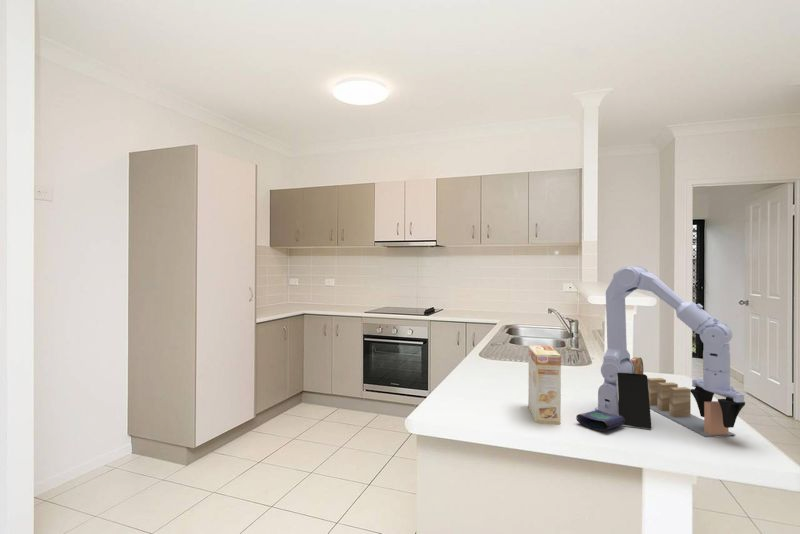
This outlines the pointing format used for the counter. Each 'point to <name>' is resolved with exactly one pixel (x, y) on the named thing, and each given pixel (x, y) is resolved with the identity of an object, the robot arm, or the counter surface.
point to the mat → (688, 422)
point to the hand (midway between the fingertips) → (716, 421)
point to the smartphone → (633, 400)
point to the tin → (637, 365)
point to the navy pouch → (600, 420)
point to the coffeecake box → (544, 384)
